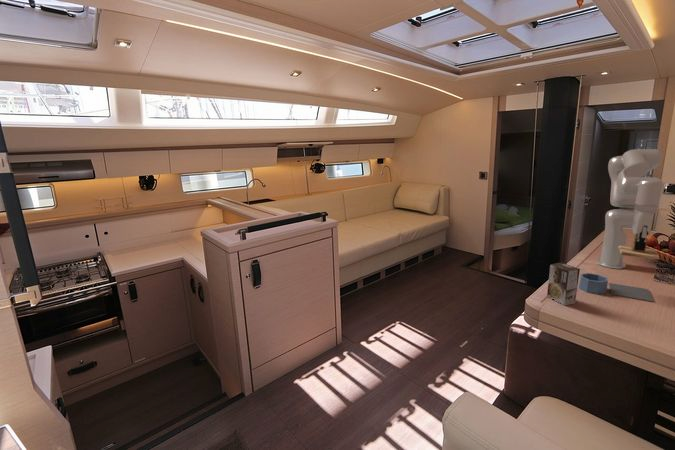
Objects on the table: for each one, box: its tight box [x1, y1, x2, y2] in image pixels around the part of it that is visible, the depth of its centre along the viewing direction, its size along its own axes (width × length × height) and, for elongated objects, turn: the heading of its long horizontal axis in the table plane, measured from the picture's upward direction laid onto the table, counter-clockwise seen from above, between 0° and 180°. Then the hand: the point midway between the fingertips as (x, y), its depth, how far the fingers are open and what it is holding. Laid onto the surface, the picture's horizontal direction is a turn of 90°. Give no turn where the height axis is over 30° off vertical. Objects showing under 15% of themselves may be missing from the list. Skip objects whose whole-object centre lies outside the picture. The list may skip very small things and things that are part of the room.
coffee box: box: [546, 262, 581, 306], centre depth 143 cm, size 9×6×16 cm
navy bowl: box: [578, 272, 609, 295], centre depth 153 cm, size 10×10×6 cm
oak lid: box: [618, 235, 660, 260], centre depth 144 cm, size 12×12×7 cm
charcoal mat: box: [608, 282, 655, 303], centre depth 149 cm, size 14×14×1 cm
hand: (638, 248), depth 144 cm, fingers closed on oak lid, 4 cm apart
